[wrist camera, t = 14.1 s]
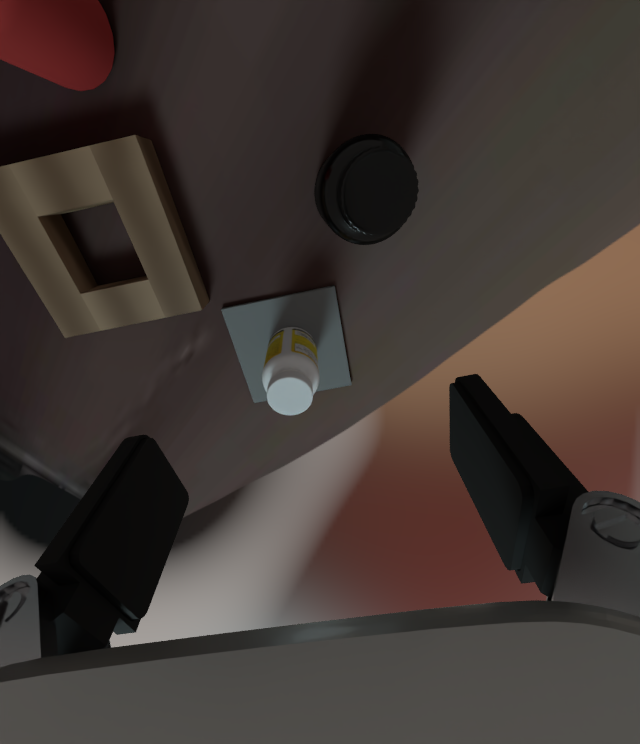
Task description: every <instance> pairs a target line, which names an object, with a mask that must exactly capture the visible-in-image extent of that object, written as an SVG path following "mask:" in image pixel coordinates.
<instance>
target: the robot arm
mask: <svg viewBox="0 0 640 744" xmlns="http://www.w3.org/2000/svg"><path fill="white" fill-rule="evenodd" d="M449 391H450V453H451V457H452V459H453V462H454V464H455V466H456V468H457V470H458V472H459V474H460V476H461V478H462V480H463V482H464V484H465V486H466V488H467V490H468V492H469V494H470V496H471V498H472V500H473V502H474V504H475V506H476V508H477V510H478V512H479V515H480V517H481V518H482V521H483V523H484V525H485V527H486V529H487V531H488V533H489V535H490V537H491V539H492V541H493V543H494V545H495V547H496V549H497V551H498V553H499V555H500V557H501V559H502V561H503V563H504V565H505V567H506V568H507V569H508V570H515V572H516V574H517V576H518V578H519V580H520V581H521V583H530V582H535V583H536V585H537V586H538V588H539V590H540V592H541V593H543V594H544V595H546V596H547V600H546V601H516V602H495V603H486V604H475V605H465V606H455V607H446V608H445V607H444V608H434V609H424V610H416V611H407V612H399V613H390V614H382V615H374V616H364V617H356V618H347V619H339V620H330V621H322V622H313V623H306V624H297V625H289V626H280V627H273V628H264V629H256V630H248V631H240V632H232V633H223V634H215V635H207V636H199V637H191V638H184V639H176V640H168V641H161V642H152V643H145V644H138V645H129V646H122V647H114V648H111V646H110V641H109V639H110V637H111V635H112V633H113V632H115V633H116V634H117V635H118V634H126V633H134V632H136V630H137V627H138V625H139V622H140V620H141V618H142V617H144V616H145V614H146V613H147V611H148V608H149V606H150V603H151V600H152V597H153V595H154V592H155V590H156V587H157V585H158V582H159V579H160V577H161V574H162V571H163V568H164V566H165V563H166V560H167V558H168V555H169V552H170V550H171V547H172V545H173V542H174V539H175V537H176V534H177V531H178V529H179V526H180V523H181V521H182V518H183V516H184V513H185V510H186V508H187V505H188V501H189V496H188V492H187V491H186V489H185V487H184V486H183V484H182V483H181V481H180V479H179V478H178V476H177V475H176V473H175V471H174V470H173V468H172V467H171V465H170V463H169V462H168V460H167V459H166V457H165V456H164V454H163V452H162V451H161V449H160V448H159V446H158V444H157V443H156V441H155V440H154V439H152V438H150V437H149V436H147V435H139V436H134V437H128V438H126V439H124V440H123V442H122V443H121V444H120V446H119V447H118V449H117V450H116V451H115V453H114V454H113V456H112V457H111V459H110V460H109V461H108V463H107V464H106V466H105V467H104V468H103V470H102V471H101V473H100V474H99V475H98V477H97V478H96V480H95V481H94V482H93V484H92V485H91V487H90V488H89V489H88V491H87V492H86V494H85V495H84V497H83V498H82V499H81V501H80V502H79V504H78V505H77V506H76V508H75V509H74V511H73V512H72V513H71V515H70V516H69V518H68V519H67V521H66V522H65V523H64V525H63V526H62V528H61V529H60V530H59V532H58V533H57V535H56V536H55V537H54V539H53V540H52V542H51V543H50V545H49V546H48V547H47V549H46V550H45V552H44V553H43V554H42V556H41V557H40V559H39V560H38V561H37V563H36V564H35V566H36V567H37V568H38V569H39V570H40V571H41V573H40V575H39V576H38V578H36V577H34V576H32V575H22V576H19V577H16V578H13V579H11V580H10V581H8V582H6V583H4V584H3V585H1V586H0V744H640V502H638V501H636V500H634V499H632V498H629V497H627V496H624V495H622V494H617V493H613V492H608V491H592V492H588V491H587V490H586V489H585V487H583V485H582V484H581V483H580V482H579V481H578V479H577V478H576V477H575V476H574V475H573V474H572V473H571V472H570V471H569V469H568V468H567V467H566V466H565V465H564V464H563V462H562V461H561V460H560V459H559V458H558V457H557V455H556V454H555V453H554V452H553V451H552V450H551V448H550V447H549V446H548V445H547V444H546V443H545V442H544V440H543V439H542V438H541V437H540V436H539V435H538V434H537V432H535V430H534V429H533V428H532V427H531V426H530V424H529V423H528V422H527V421H526V420H525V419H524V418H523V417H522V416H521V415H520V414H517V413H514V414H511V413H510V412H509V411H508V410H507V408H506V407H505V406H504V405H503V404H502V403H501V401H500V400H499V399H498V398H497V396H496V395H495V394H494V393H493V392H492V391H491V389H490V388H489V387H488V386H487V384H486V383H485V382H484V381H483V380H482V379H481V377H480V376H479V375H478V374H473V375H468V376H463V377H457V378H456V380H455V383H451V384H450V390H449Z"/></svg>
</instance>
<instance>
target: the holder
mask: <svg viewBox="0 0 640 744" xmlns="http://www.w3.org/2000/svg"><path fill="white" fill-rule="evenodd" d="M113 202H114V203H115V205H116V208H117V210H118V212H119V214H120V217H121V219H122V221H123V223H124V226H125V228H126V230H127V232H128V235H129V237H130V239H131V242H132V244H133V246H134V248H135V251H136V253H137V255H138V257H139V260H140V262H141V264H142V266H143V269H144V271H145V273H146V275H147V276H142V277H137V278H132V279H128V280H123V281H118V282H114V283H109V284H104V285H99V286H98V285H97V283H96V281H95V279H94V277H93V275H92V273H91V271H90V269H89V267H88V266H87V264H86V262H85V260H84V258H83V256H82V254H81V252H80V250H79V248H78V246H77V244H76V243H75V241H74V239H73V237H72V235H71V233H70V231H69V229H68V227H67V225H66V223H65V222H64V220H63V218H62V216H61V214H64V213H69V212H73V211H78V210H82V209H87V208H91V207H95V206H100V205H104V204H109V203H113ZM0 234H1V235H2V237H3V238H4V240H5V242H6V243H7V245H8V247H9V248H10V250H11V251H12V253H13V255H14V256H15V258H16V259H17V261H18V263H19V264H20V266H21V267H22V269H23V271H24V272H25V274H26V276H27V277H28V279H29V280H30V282H31V284H32V285H33V287H34V288H35V290H36V292H37V293H38V295H39V296H40V298H41V300H42V301H43V303H44V305H45V306H46V308H47V309H48V311H49V313H50V314H51V316H52V317H53V319H54V321H55V322H56V324H57V325H58V327H59V329H60V330H61V332H62V334H63V335H64V337H65V338H67V337H72V336H77V335H82V334H87V333H92V332H97V331H102V330H107V329H112V328H117V327H121V326H126V325H131V324H136V323H141V322H146V321H151V320H156V319H161V318H166V317H170V316H175V315H180V314H185V313H190V312H195V311H200V310H203V308H204V307H205V306H206V305H207V304H208V302H209V301H210V300H209V297H208V294H207V292H206V289H205V286H204V283H203V281H202V278H201V275H200V273H199V270H198V267H197V264H196V262H195V259H194V256H193V253H192V251H191V248H190V245H189V242H188V240H187V237H186V234H185V231H184V229H183V226H182V223H181V220H180V218H179V215H178V212H177V209H176V207H175V204H174V201H173V199H172V196H171V193H170V190H169V188H168V185H167V182H166V179H165V177H164V174H163V171H162V168H161V166H160V163H159V160H158V157H157V155H156V152H155V149H154V146H153V144H152V141H151V140H149V139H146V138H143V137H140V136H137V135H132V136H128V137H124V138H120V139H115V140H111V141H107V142H103V143H98V144H94V145H90V146H86V147H81V148H77V149H73V150H69V151H65V152H60V153H56V154H52V155H48V156H43V157H39V158H35V159H31V160H27V161H22V162H18V163H14V164H10V165H5V166H1V167H0Z"/></svg>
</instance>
